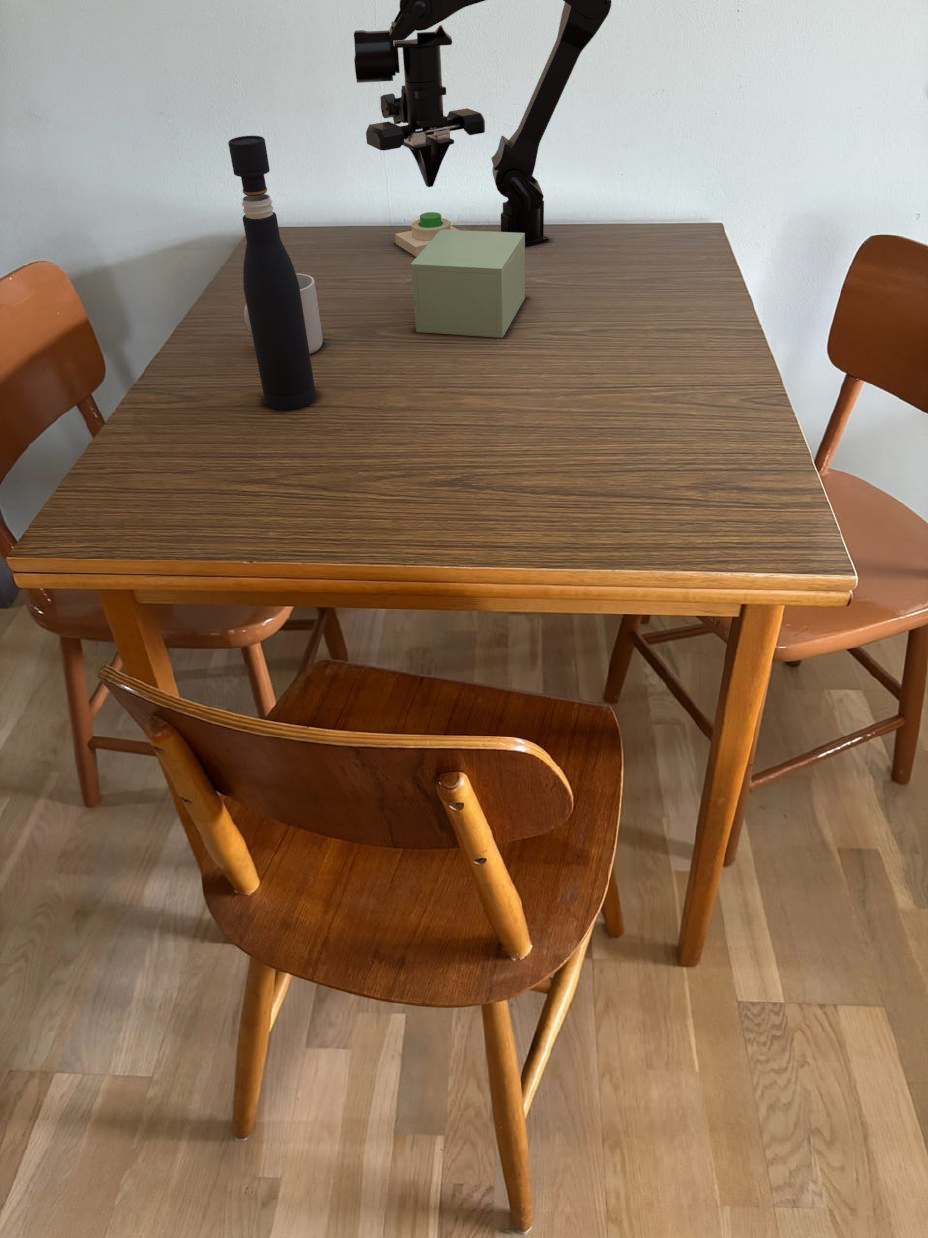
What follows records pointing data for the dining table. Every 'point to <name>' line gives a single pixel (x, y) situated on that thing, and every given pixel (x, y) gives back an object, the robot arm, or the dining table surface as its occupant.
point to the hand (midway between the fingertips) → (429, 186)
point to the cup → (305, 312)
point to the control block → (420, 236)
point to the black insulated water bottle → (271, 287)
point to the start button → (430, 220)
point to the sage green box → (469, 282)
